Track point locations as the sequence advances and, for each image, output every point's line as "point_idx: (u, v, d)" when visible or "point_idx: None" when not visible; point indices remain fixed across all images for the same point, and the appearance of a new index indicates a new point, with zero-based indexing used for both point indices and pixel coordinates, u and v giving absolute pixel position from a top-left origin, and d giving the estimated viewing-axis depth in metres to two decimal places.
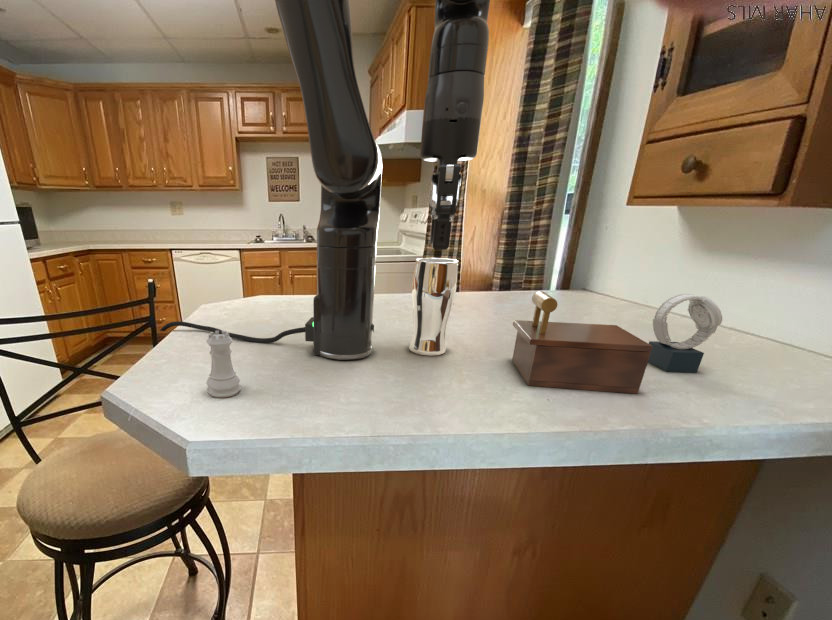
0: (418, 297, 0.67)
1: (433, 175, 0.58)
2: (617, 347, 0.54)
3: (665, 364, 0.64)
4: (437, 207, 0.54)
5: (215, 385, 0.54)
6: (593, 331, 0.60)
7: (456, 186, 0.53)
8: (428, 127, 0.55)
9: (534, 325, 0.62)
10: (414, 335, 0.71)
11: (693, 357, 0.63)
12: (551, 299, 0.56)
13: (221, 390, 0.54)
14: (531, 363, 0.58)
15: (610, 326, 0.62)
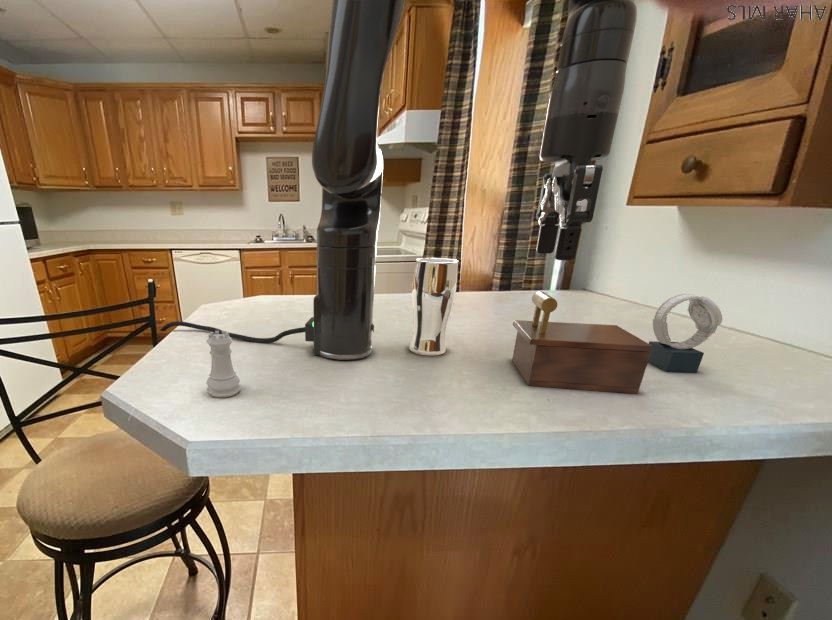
0: (418, 297, 0.67)
1: (557, 177, 0.52)
2: (617, 347, 0.54)
3: (665, 364, 0.64)
4: (571, 213, 0.48)
5: (215, 385, 0.54)
6: (593, 331, 0.60)
7: (596, 190, 0.47)
8: (558, 124, 0.49)
9: (534, 325, 0.62)
10: (414, 335, 0.71)
11: (693, 357, 0.63)
12: (551, 299, 0.56)
13: (221, 390, 0.54)
14: (531, 363, 0.58)
15: (610, 326, 0.62)
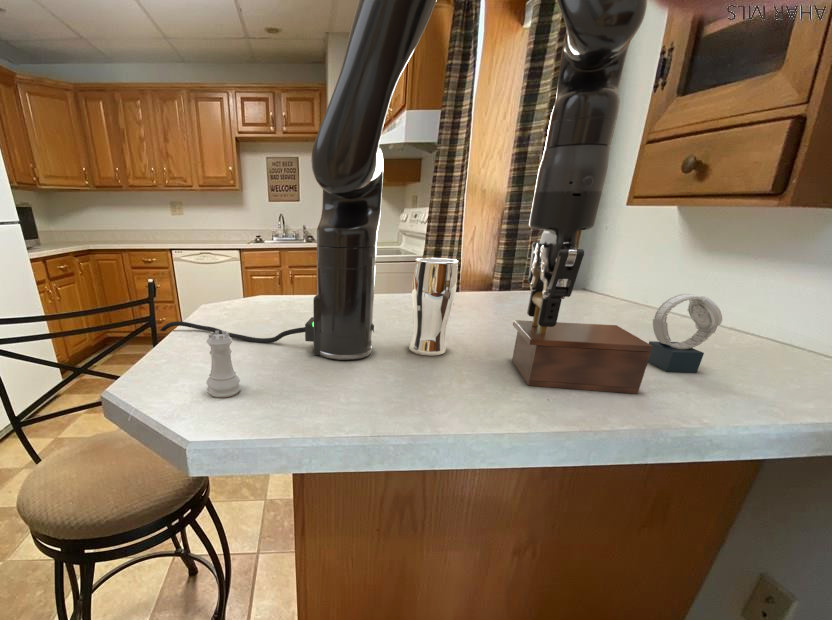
0: (418, 297, 0.67)
1: (545, 247, 0.55)
2: (617, 347, 0.54)
3: (665, 364, 0.64)
4: (552, 291, 0.53)
5: (215, 385, 0.54)
6: (593, 331, 0.60)
7: (576, 272, 0.51)
8: (545, 198, 0.52)
9: (534, 325, 0.62)
10: (414, 335, 0.71)
11: (693, 357, 0.63)
12: None
13: (221, 390, 0.54)
14: (531, 363, 0.58)
15: (610, 326, 0.62)
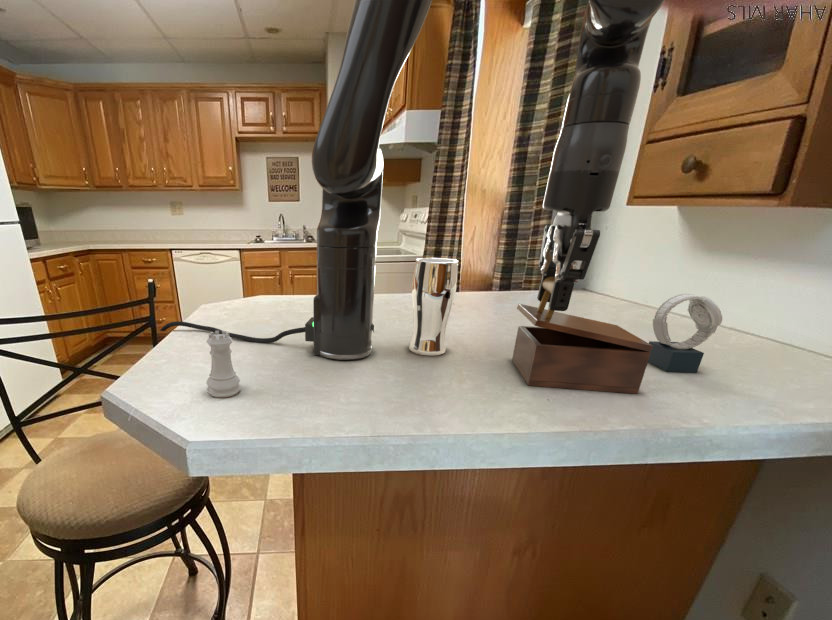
0: (418, 297, 0.67)
1: (559, 228, 0.54)
2: (619, 342, 0.54)
3: (665, 364, 0.64)
4: (565, 273, 0.52)
5: (215, 385, 0.54)
6: (596, 325, 0.59)
7: (591, 254, 0.50)
8: (561, 178, 0.51)
9: (539, 310, 0.61)
10: (414, 335, 0.71)
11: (693, 357, 0.63)
12: None
13: (221, 390, 0.54)
14: (531, 363, 0.58)
15: (611, 325, 0.62)
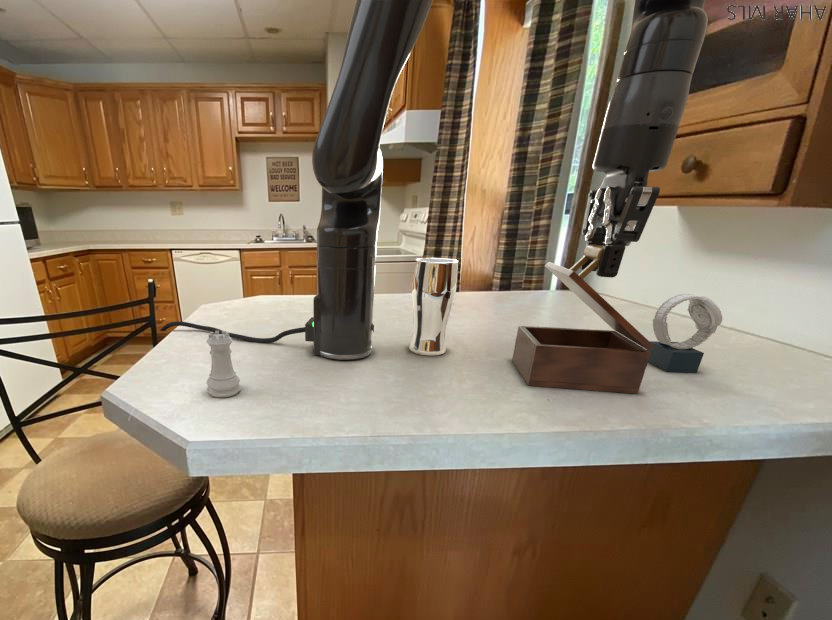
0: (418, 297, 0.67)
1: (611, 189, 0.51)
2: (630, 329, 0.53)
3: (665, 364, 0.64)
4: (619, 234, 0.49)
5: (215, 385, 0.54)
6: None
7: (648, 213, 0.47)
8: (617, 133, 0.48)
9: None
10: (414, 335, 0.71)
11: (693, 357, 0.63)
12: None
13: (221, 390, 0.54)
14: (531, 363, 0.58)
15: None
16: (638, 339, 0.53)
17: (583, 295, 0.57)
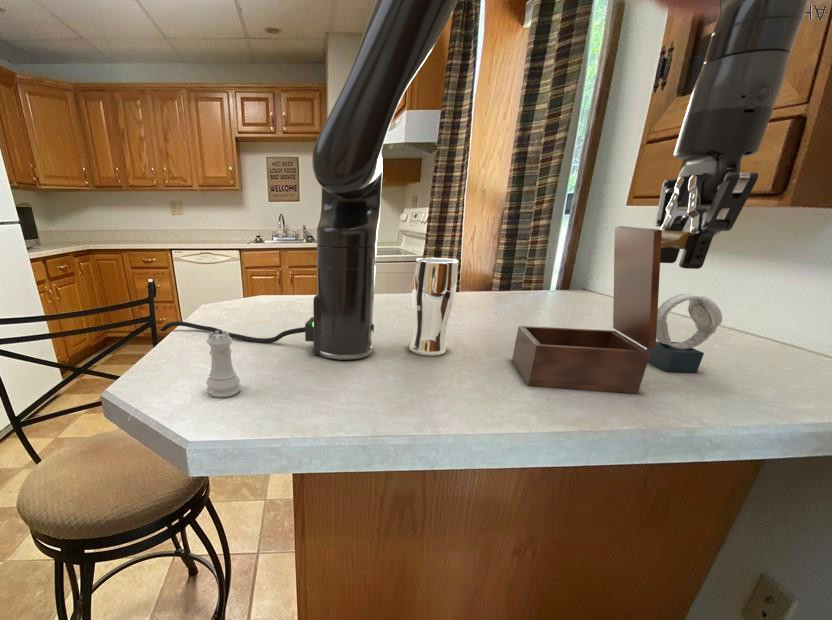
0: (418, 297, 0.67)
1: (697, 176, 0.49)
2: (653, 318, 0.52)
3: (665, 364, 0.64)
4: (710, 223, 0.47)
5: (215, 385, 0.54)
6: None
7: (744, 200, 0.45)
8: (706, 118, 0.46)
9: None
10: (414, 335, 0.71)
11: (693, 357, 0.63)
12: None
13: (221, 390, 0.54)
14: (531, 363, 0.58)
15: None
16: (650, 333, 0.53)
17: (634, 268, 0.54)
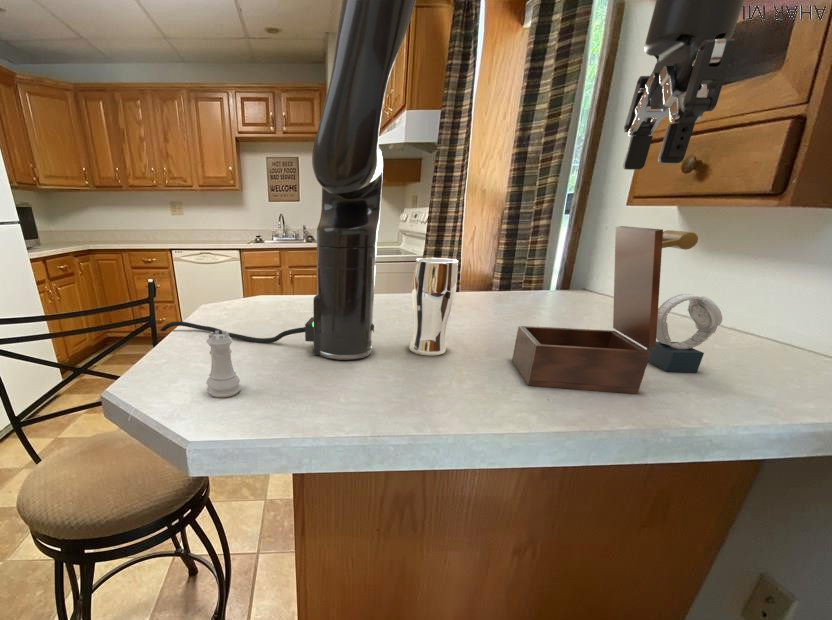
0: (418, 297, 0.67)
1: (668, 66, 0.45)
2: (653, 318, 0.52)
3: (665, 364, 0.64)
4: (692, 99, 0.42)
5: (215, 385, 0.54)
6: None
7: (724, 69, 0.41)
8: None
9: None
10: (414, 335, 0.71)
11: (693, 357, 0.63)
12: (696, 240, 0.51)
13: (221, 390, 0.54)
14: (531, 363, 0.58)
15: None
16: (650, 332, 0.53)
17: (635, 268, 0.54)
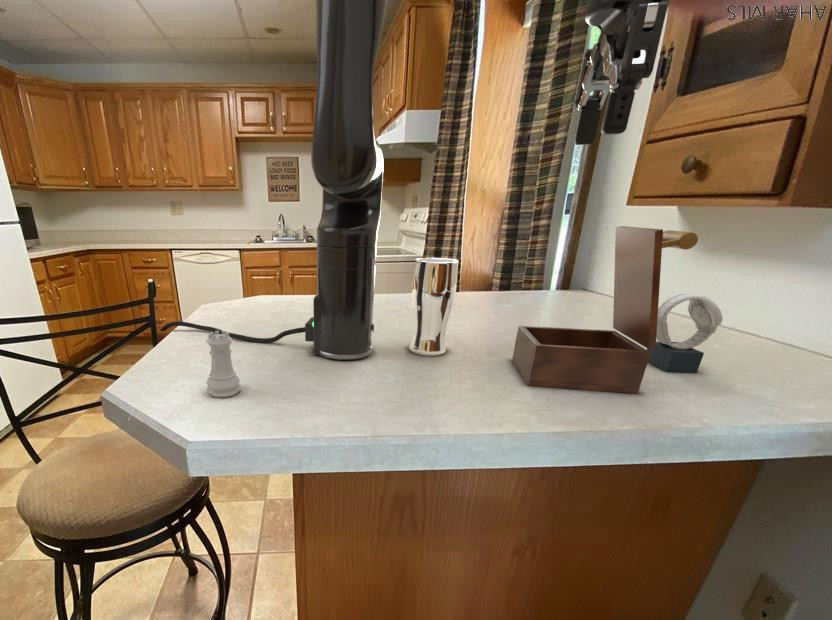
0: (418, 297, 0.67)
1: (607, 35, 0.45)
2: (653, 318, 0.52)
3: (665, 364, 0.64)
4: (627, 65, 0.41)
5: (215, 385, 0.54)
6: None
7: (658, 33, 0.40)
8: None
9: None
10: (414, 335, 0.71)
11: (693, 357, 0.63)
12: (696, 240, 0.51)
13: (221, 390, 0.54)
14: (531, 363, 0.58)
15: None
16: (650, 332, 0.53)
17: (635, 268, 0.54)
